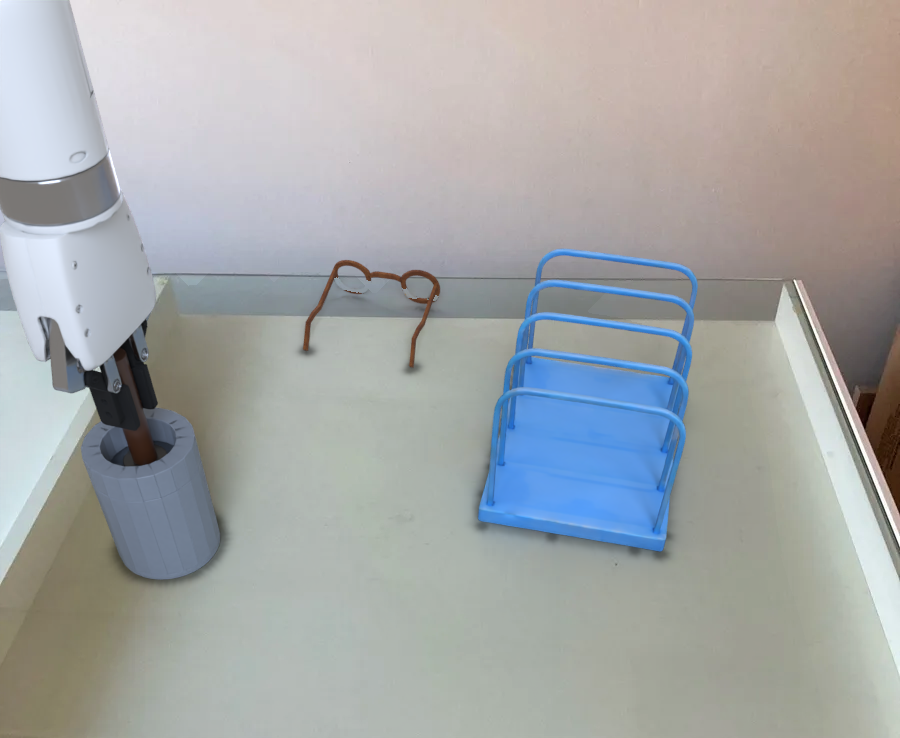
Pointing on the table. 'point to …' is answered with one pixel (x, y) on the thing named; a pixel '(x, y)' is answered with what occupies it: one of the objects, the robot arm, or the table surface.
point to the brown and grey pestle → (141, 439)
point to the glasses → (368, 277)
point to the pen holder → (154, 498)
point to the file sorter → (589, 428)
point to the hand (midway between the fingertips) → (130, 413)
